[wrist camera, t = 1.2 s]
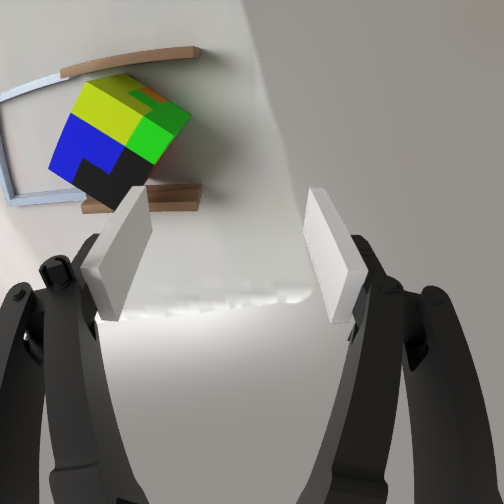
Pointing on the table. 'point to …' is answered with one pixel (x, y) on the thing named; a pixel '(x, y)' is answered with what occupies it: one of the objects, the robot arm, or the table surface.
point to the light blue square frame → (3, 177)
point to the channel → (158, 195)
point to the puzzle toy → (115, 137)
